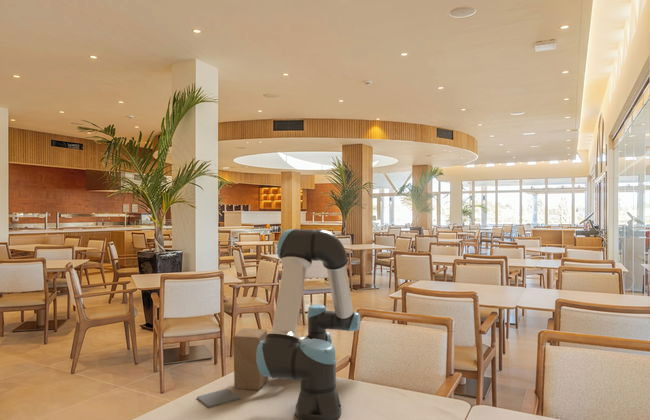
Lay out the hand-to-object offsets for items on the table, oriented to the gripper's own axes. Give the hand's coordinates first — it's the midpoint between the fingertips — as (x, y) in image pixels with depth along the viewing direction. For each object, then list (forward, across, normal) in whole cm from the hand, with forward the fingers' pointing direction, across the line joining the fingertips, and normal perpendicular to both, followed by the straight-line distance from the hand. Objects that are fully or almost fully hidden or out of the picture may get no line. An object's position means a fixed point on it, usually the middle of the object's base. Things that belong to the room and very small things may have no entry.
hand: (252, 358), depth 179 cm
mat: (+16, -4, -10) cm, 19 cm away
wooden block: (0, 0, -10) cm, 10 cm away
